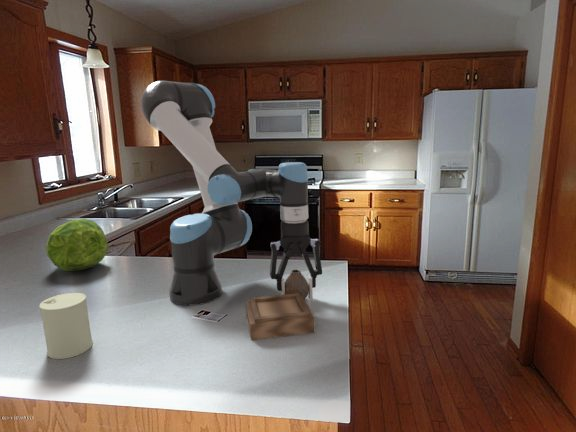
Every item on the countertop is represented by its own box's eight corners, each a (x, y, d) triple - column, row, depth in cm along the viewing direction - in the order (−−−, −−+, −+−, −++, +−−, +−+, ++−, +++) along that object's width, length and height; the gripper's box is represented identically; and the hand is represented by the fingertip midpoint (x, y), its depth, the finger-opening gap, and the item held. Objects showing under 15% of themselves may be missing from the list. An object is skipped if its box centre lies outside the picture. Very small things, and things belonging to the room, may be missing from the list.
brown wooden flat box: (251, 339, 92) (250, 320, 91) (246, 315, 105) (245, 297, 104) (314, 332, 95) (314, 313, 94) (302, 309, 107) (302, 292, 106)
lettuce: (91, 257, 161) (76, 214, 156) (122, 259, 146) (106, 212, 142) (41, 278, 146) (23, 231, 142) (71, 283, 132) (51, 231, 127)
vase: (311, 296, 115) (311, 267, 113) (304, 306, 109) (304, 276, 107) (288, 294, 117) (288, 265, 115) (280, 304, 111) (279, 274, 109)
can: (59, 339, 95) (51, 291, 93) (99, 336, 96) (92, 289, 93) (38, 360, 86) (29, 308, 84) (83, 357, 87) (75, 306, 84)
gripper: (259, 225, 103) (263, 309, 107) (334, 220, 106) (334, 301, 111) (256, 219, 110) (259, 298, 115) (326, 215, 113) (327, 291, 118)
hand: (296, 299), depth 113 cm, fingers open, 7 cm apart
